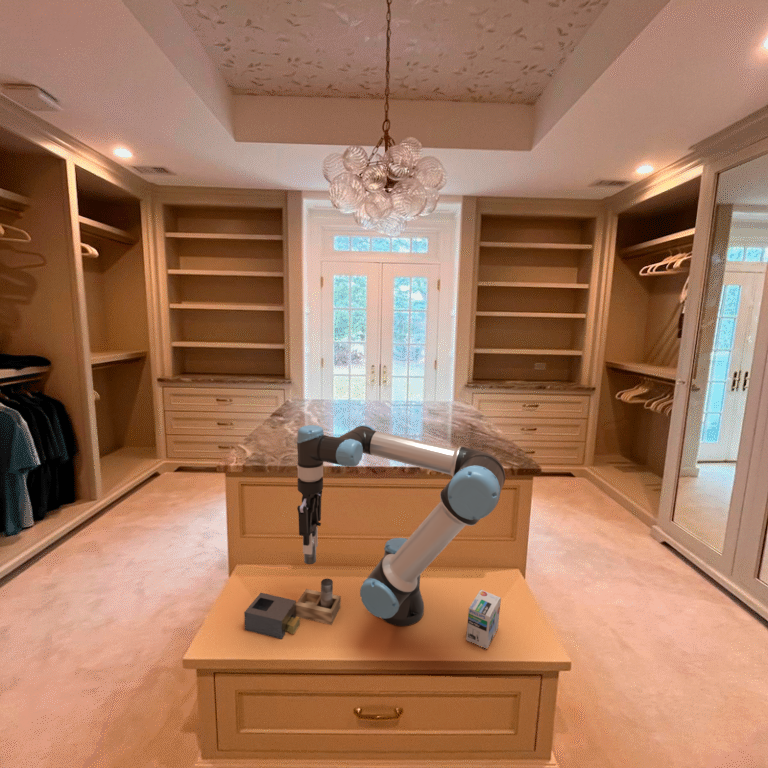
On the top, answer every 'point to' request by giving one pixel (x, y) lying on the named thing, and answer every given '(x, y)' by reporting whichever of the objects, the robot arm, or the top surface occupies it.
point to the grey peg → (312, 558)
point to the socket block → (269, 615)
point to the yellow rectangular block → (292, 624)
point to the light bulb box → (483, 618)
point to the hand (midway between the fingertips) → (310, 549)
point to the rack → (319, 604)
